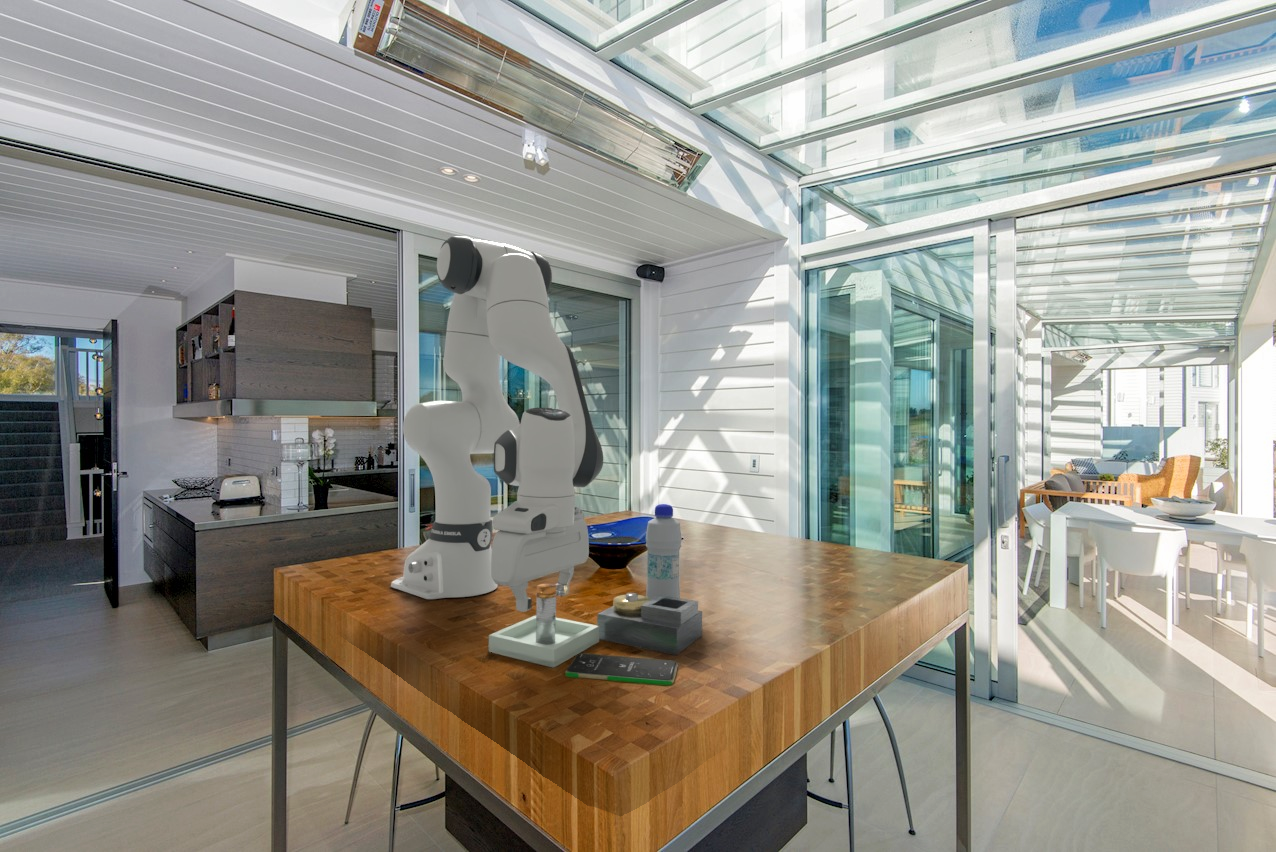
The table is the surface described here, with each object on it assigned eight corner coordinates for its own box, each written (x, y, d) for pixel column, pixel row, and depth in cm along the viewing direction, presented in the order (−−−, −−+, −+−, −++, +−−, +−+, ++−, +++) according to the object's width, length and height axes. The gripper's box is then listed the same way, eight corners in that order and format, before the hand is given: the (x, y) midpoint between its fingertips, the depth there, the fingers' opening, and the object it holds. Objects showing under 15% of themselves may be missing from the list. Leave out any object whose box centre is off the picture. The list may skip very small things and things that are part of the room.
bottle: (678, 619, 106) (679, 506, 107) (641, 616, 108) (642, 505, 108) (683, 608, 113) (684, 502, 113) (648, 605, 114) (649, 501, 114)
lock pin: (531, 642, 91) (532, 586, 91) (543, 636, 94) (544, 582, 94) (547, 646, 90) (548, 589, 90) (559, 640, 93) (560, 585, 93)
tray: (488, 651, 90) (488, 635, 90) (538, 628, 100) (538, 614, 100) (553, 667, 84) (554, 649, 84) (598, 641, 94) (599, 625, 95)
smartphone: (673, 681, 79) (563, 672, 81) (673, 689, 79) (563, 679, 81) (678, 660, 86) (578, 651, 89) (678, 666, 86) (577, 658, 89)
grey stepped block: (596, 638, 96) (597, 598, 96) (627, 621, 105) (627, 585, 105) (676, 655, 89) (677, 612, 89) (701, 635, 98) (702, 596, 98)
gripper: (568, 504, 103) (566, 584, 103) (484, 519, 85) (482, 616, 85) (599, 507, 100) (597, 590, 100) (519, 523, 82) (516, 624, 82)
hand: (543, 602), depth 92 cm, fingers open, 8 cm apart
